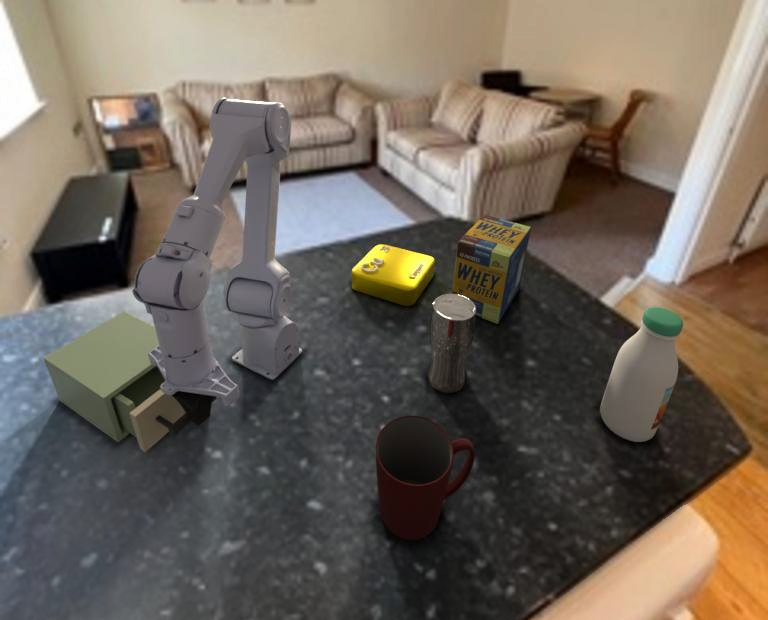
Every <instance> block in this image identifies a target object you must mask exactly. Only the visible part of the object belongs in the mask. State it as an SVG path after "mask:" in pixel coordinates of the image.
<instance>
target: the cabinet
mask: <svg viewBox="0 0 768 620" xmlns="http://www.w3.org/2000/svg"><path fill="white" fill-rule="evenodd" d="M157 346H159V342H158V338H157V334H156V330H155V325H152V324H150V323H148V322H146V321H144V320H142V319H140V318H138V317H136V316H135V315H133V314H131V313H129V312H127V311H123V312H121V313H119V314H117V315H115V316H114V317H112V318H111V319H109V320H107V321H105V322H103V323H102V324H100V325H98V326H96V327H95V328H93V329H91V330H89V331H88V332H86V333H84V334H83V335H81V336H79V337H77V338H75V339H73V340H72V341H70V342H68V343H67V344H65V345H63V346H62V347H59V348H58V349H56V350H55V351H53V352H51V353H50V354H48V355H45V356H44V357H43V358H42V359H43V361H44V363H45V366H46V369H47V371H48V374H49V377H50V379H51V382H52V384H53V387H54V390H55V392H56V395H57V398H58V400H59V401H60V402H61V403H62V404H64V405H65V406H67V408H69V409H71V410H72V411H74V413H76V414H78V415H79V416H80V417H82V418H83V419H84V420H85V421H87V422H89V423H90V424H91V425H93V426H94V427H96V428H97V429H98V430H100V431H101V432H103V433H104V434H106V435H107V436H108V437H110V438H111V439H113V440H114V441H115V442H117V443H120V442H121V441H122V440H124V439H125V438H126V437H127V436H129V435H130V434H131V433H129V432H128V431H126V430H125V429H124V428H122V427H121V426H119V423H118V420H117V417H116V414H115V411H114V407H113V404H112V401H111V398H112V397H113V396H115V395H116V394H118V393H119V392H120V391H122V390H123V389H125V388H126V387H127V386H129V385H130V384H132V383H133V382H134V381H136V380H137V379H138V378H140V377H141V376H143V375H144V374H145V373H147V372H148V371H150V370H151V369H152V368H154V367H155V366H154V365H152V364H150V360H149V357H148V353H149V352H150V351H151V350H153V349H154V348H156V347H157Z"/></svg>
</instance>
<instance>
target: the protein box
mask: <svg viewBox="0 0 768 620" xmlns="http://www.w3.org/2000/svg"><path fill="white" fill-rule="evenodd" d="M531 230H532V227H531V226H529V225H524V224H521V223H517V222H514V221H511V220H506V219H504V218H499V217H496V216H492V215H489V214H484V215H483V216H481V218H479V220H477V221H476V222H475V224H474V225H473V226H472V227H471V228H470V229H469V230H468V231H467V232H466V233H465V234H464V235H463V236H462V237H461V238H460V239H459V240H458V241H457V244H456V255H455V263H454V271H453V279H452V280H453V282H452V291H451V294H458V295H462V296H464V297H467V298H468V299H470V300H471V301H472V302H473V303H474V304H475V306H476V317H478V318H481V319H484V320H486V321H488V322H491V323H494V324H496V325H497V324H499V323H500V321H501V319H502V318H503V316H504V314H505V313H506V311H507V309H508V308H509V306H510V305H511V303H512V301H513V300H514V298H515V296H516V295H517V293H518V292H519V290H520V287H521V282H522V277H523V272H524V266H525V262H526V258H527V257H526V256H527V253H528V252H527V251H528V246H529V240H530V236H531ZM519 285H520V286H519ZM515 292H516V293H515Z"/></svg>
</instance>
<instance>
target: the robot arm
mask: <svg viewBox="0 0 768 620" xmlns="http://www.w3.org/2000/svg"><path fill="white" fill-rule="evenodd" d="M208 126H209V132H210V135H211V136H210V137H211V138H212V140H211V142H210V146H209V149H208V152H207V155H206V158H205V160H204V163H203V166H202V169H201V171H200V175H199V178H198V181H197V184H196V187H195V189H194V193H193V194H192V195H191V196H189V197H186V198H184V199H181V201H179V203H178V205H177V207H176V209H175V211H174V214H173V216H172V218H171V220H170V223H169V224H168V227H167V229H166V231H165V233H164V236H163V238H162V240H161V242H160V244H159V246H158V248H157V251H156V252H155V254H153V255H152V256H150V257H147V258H146V259H145V260H143V261H142V263H141V264H140V265H139V266H138V268H137V270H136V273H135V274H134V275H135V276H134V288H133V289H132V295H133V297H134V298H135V299H136V300H137V301H138V302H139V303H142V304H143V305H144V306H145V310H146V313H147V314H149V315H151V318H152V322H153V326H154V327H155V330H156V334H157V338H158V342H159V346H157V347H156V348H154V349H153V350H151V351H150V352H149V353H148V357H149V360H150V364H152V365H154V366H157V367H158V369H159V370H160V372H161V374H162V376H163V378H164V379H165V382H164V383H162V384H161V385H160V389H161V391H162V392H163V393H165V394H167V395H171V396H173V397H174V398H175V399H176V400H177V401H178V402H179V404H180V405H181V406H182V408H183V409H184V411H185V412H186V414H187V415H188V417H189V419H190V420H191V423H193V424H195V425H196V426H198V427H200V426H201V425H202V424H203V423H204V422H205V421H207V419H209V418H210V417H211V412H212V411H211V410H212V406H213V402H212V401H213V397H214V396H216V397H217V398H220V399H221V403H222V405H223V406H224V407H226V408H229V407H230V406H231V405H232V404H234V402H236V400H238V398H239V397H240V390H239V386H238V384H237V383H235V382H233V381H232V379H230V378H229V376H228V374H227V373H226V372H225V370H224V368H222V367H221V365H220V364H219V362H218V361H217V360H216V358H215V357H214V354H213V347H212V341H211V336H210V332H209V327H208V326H209V325H208V319H207V314H206V309H205V304H204V303H205V302H204V300H205V298H206V295H207V294H208V291H209V290H210V287H211V280H212V279H211V278H212V274H211V271H212V267H213V260H212V259H211V256H212V254H213V251H214V248H215V246H216V243H217V241H218V239H219V236H220V233H221V232H222V231H221V230H222V228H223V226H224V223H225V221H226V215H225V212H224V210H223V207H222V204H223V202H224V201H225V199H226V198H227V197H226V196H228V193H229V191H230V189H231V187H232V185H233V184H234V181H235V179H236V177H237V175H238V174H239V171H240V170H241V168H242V166H243V164H244V162H246V164H247V168H246V169H247V172H246V187H245V188H246V189H245V203H244V204H245V205H244V224H243V238H242V239H243V240H242V259H241V260H240V261H239V262H237V263H236V264H234V265H233V266H231V267H230V268H229V269H228V270H227V277H226V282H225V286H224V288H223V292H222V303H223V306H224V309H225V310H226V311H227V312H229V313H230V312H231V313H232V317H233V319H236V320H237V323H238V329H239V338H240V345H241V349H239V350H238V352H236V353H234V355H232V357H231V361H233V362H234V363H237V364H239V365H241V366H243V367H245V368H246V369H249V370H250V371H252V372H254V373H256V374H259V375H261V376H262V377H265V378H266V379H268V380H270V381H274V380H276V378H277V377H279V376H280V375H281V374H282V373H283V372H284V370H286V369H287V368H288V367H289V366H290V365H291V364H292V363H293V362H294V361H295V360H296V359H297V358H298V357H299V356H300V355H301V354H302V353H303V349H302V348H301V347H300V344H299V330H298V329H299V328H298V325H297V324H296V323H295V322H294V321H292V320H290V319H289V317H287V316H286V315H287V314H288V311H289V310H290V307H291V303H292V297H293V296H292V295H293V293H292V292H293V291H292V288H291V277H290V276H291V273H290V272H289V270H288V269H287V268H285V267H284V266H283V265H282V264H281V263H279V262H278V260H276V258H275V257H276V241H277V227H278V213H279V198H280V197H279V196H280V184H281V182H280V180H281V170H282V169H281V168H282V160H285V159H287V158H289V155H290V149H291V136H292V135H291V134H292V119H291V117H290V114H289V111H288V110H287V108H286V106H285V105H284V103H282V102H280V101H274V102H269V101H258V100H257V101H254V100H242V99H231V98H229V97H222V98H219V99H218V100H217V101H216V102H215V104H214V106H213V107H212V111H211V115H210V117H209V119H208Z"/></svg>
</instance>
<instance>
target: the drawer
mask: <svg viewBox="0 0 768 620" xmlns="http://www.w3.org/2000/svg"><path fill="white" fill-rule="evenodd" d="M164 382H165V379H164V378H163V376H162V374H161V372H160V370H159V369H158V367H157V366H155V367H154V368H152V369H151V370H150V371H148V372H147V373H145V374H144V375H143V376H141V377H140V378H138V379H137V380H136V381H134V382H133V383H132V384H130V385H129V386H127V387H126V388H125V389H123V390H122V391H120V392H119V393H118V394H116V395H115V396H113V397H112V398H111V401H112V404H113V407H114V411H115V414H116V417H117V420H118V423H119V426H121V427H122V428H124V429H125V430H126V431H128V432H129V433H130V434H131V435H132V436H134V437H135V438H136V440H137V443H138V446H139V449H140V450H141V451H143V453H147V452H148V451H149V450H150V449H151V448H152V447H153V446H154V445H155V444H157V443H158V442H159V441H160V440H161V439H162V438H163V437H165V436H166V435H167V434H168V433H170V435H172V436H174V437H176V436H177V435H178V434H179V433H180V432H181V431H183V430H184V429H185V428H186V427H187V426H188V425H189V424H190V423H192V421H191V420H190V419H189V417H188V415H187V414H186V412H185V411H184V409H183V408H182V406H181V405H180V404H179V402H178V401H177V400H176V399H175V398H174V397H173V396H171V395H167V394H165V393H163V392H162V391H161V389H160V385H161V384H162V383H164ZM217 398H218V397H216V396H214V397H213V401H212V403H214V402H215V401H216V400H217Z"/></svg>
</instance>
